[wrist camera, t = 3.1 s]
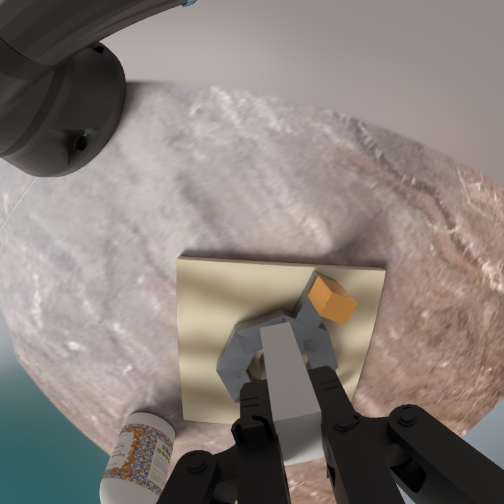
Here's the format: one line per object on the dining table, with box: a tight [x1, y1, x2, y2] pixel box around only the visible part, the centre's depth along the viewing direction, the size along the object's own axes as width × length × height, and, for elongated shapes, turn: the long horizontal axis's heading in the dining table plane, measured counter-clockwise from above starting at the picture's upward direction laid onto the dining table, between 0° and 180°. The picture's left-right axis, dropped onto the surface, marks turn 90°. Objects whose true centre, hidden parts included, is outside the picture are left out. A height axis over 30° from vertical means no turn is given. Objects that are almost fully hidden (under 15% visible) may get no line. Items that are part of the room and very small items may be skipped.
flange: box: [216, 271, 358, 404], centre depth 25 cm, size 16×11×6 cm
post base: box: [177, 256, 386, 424], centre depth 24 cm, size 20×20×10 cm
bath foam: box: [100, 412, 175, 504], centre depth 22 cm, size 7×7×20 cm
